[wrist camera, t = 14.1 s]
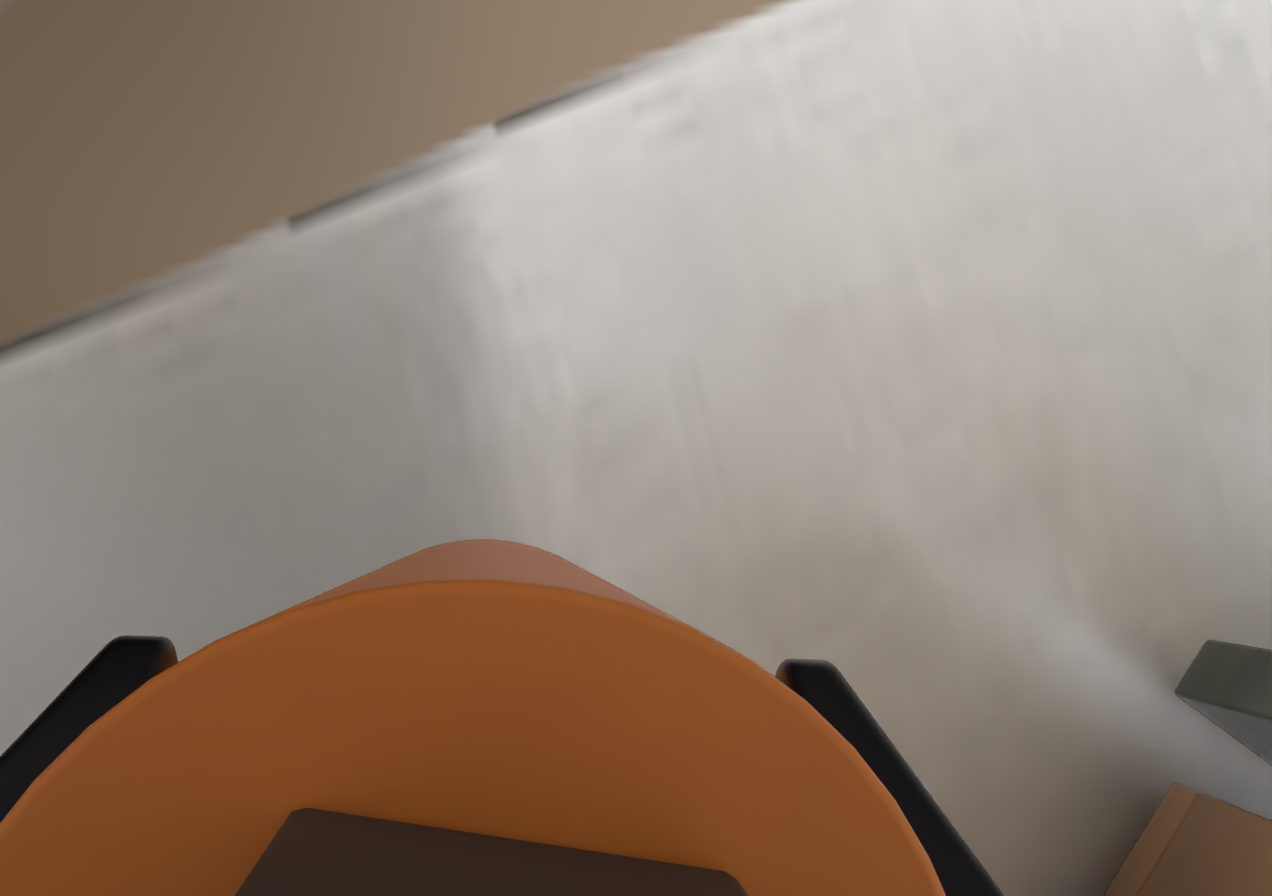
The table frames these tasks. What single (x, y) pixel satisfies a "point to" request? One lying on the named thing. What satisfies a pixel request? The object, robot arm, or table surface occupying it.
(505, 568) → the orange cylinder with cap
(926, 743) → the table surface
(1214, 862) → the drawer
